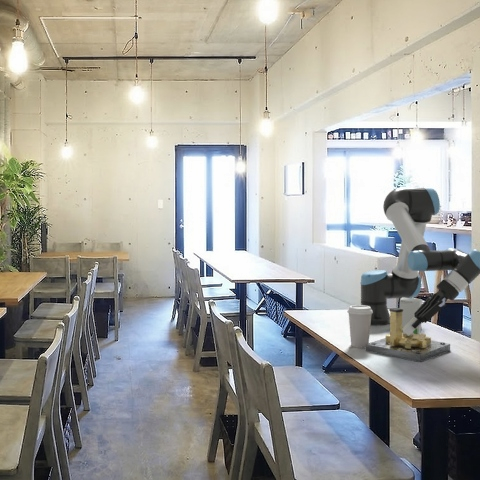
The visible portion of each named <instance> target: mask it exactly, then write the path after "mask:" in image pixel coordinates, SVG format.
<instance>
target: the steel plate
mask: <svg viewBox="0 0 480 480" xmlns="http://www.w3.org/2000/svg"><path fill="white" fill-rule="evenodd" d="M403 336H405V337H413V332H412V333H411V334H410V335H409V336H408V335H407V334H406V333H405V332H404V331H403ZM365 351H366V352H371V353H375V354H379V355H380V354H381V355H385V356H389V357H393V358H394V357H395V358H399V359H403V360H408V361H412V360H413V362H418V363H422V362H424V361H427V360H430V359H433V358H434V357H437V356H440V355H443V354H446V353H448V352H450V351H451V343H447V342H442V341H436V340H431V345H426V348H420V347H411V349H409V348H405V347H402V346H391V345H390V343H386V337H385V338H382V339H379V340H374V341H372V342H369V343H368V344H366V347H365Z"/></svg>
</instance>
